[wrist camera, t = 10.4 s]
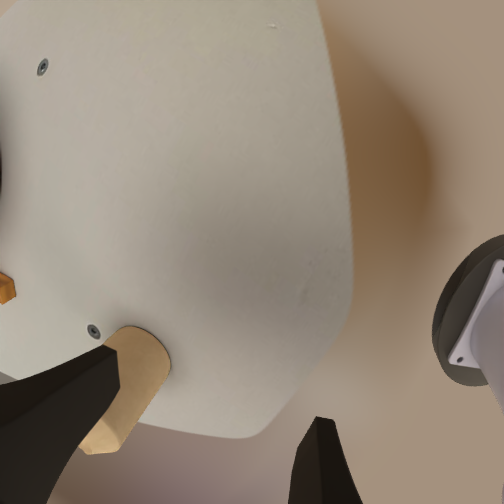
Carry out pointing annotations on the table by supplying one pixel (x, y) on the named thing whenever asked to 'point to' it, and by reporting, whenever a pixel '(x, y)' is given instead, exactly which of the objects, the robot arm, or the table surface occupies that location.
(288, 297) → the table surface
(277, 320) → the table surface
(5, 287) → the fry stick
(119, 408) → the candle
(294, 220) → the table surface
